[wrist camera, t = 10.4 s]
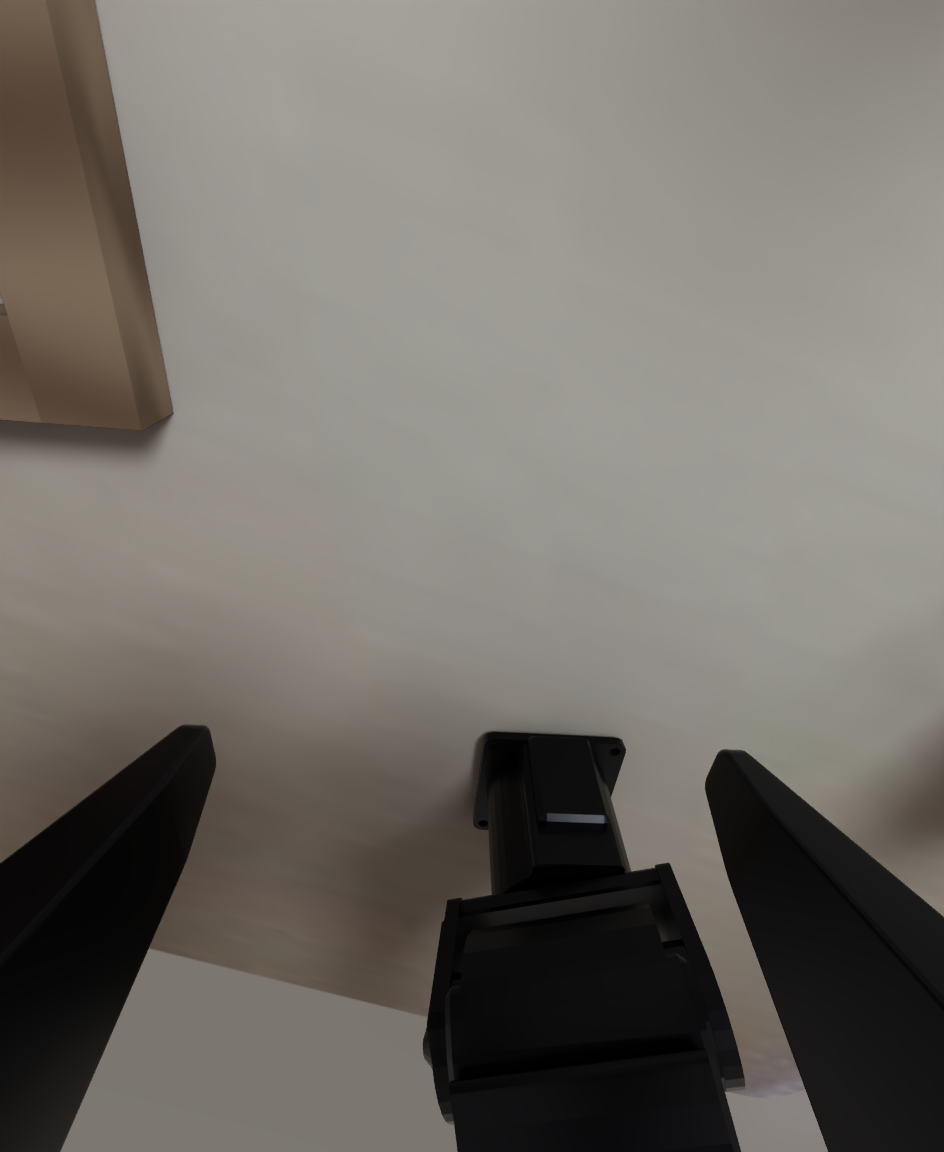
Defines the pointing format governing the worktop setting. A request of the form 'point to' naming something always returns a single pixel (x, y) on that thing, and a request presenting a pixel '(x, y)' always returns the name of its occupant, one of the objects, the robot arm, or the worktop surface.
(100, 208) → the socket block
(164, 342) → the worktop surface
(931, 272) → the worktop surface
